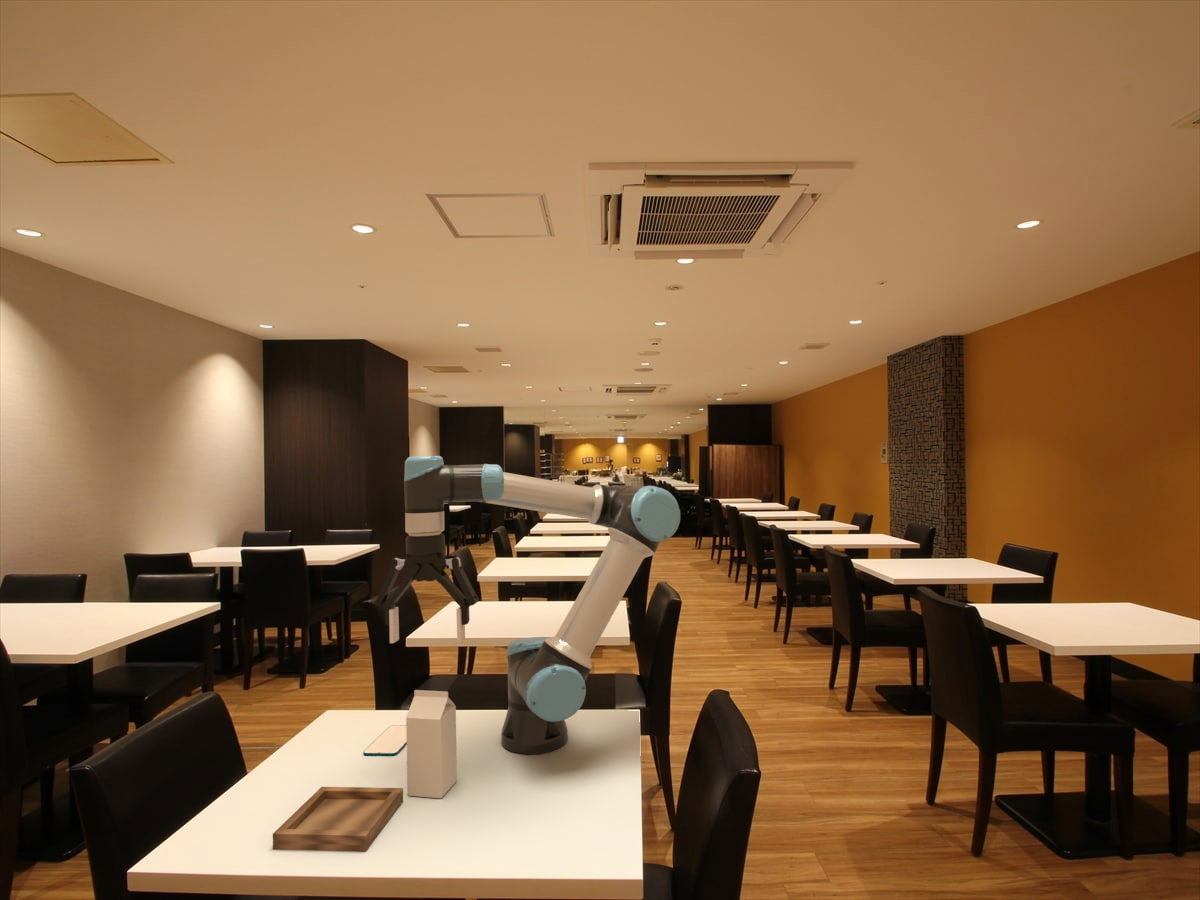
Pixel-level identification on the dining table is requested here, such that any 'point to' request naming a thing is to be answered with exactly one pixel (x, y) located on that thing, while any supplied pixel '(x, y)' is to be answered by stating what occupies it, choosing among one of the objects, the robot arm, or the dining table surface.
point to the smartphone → (388, 742)
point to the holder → (339, 819)
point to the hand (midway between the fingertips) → (427, 641)
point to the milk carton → (431, 744)
